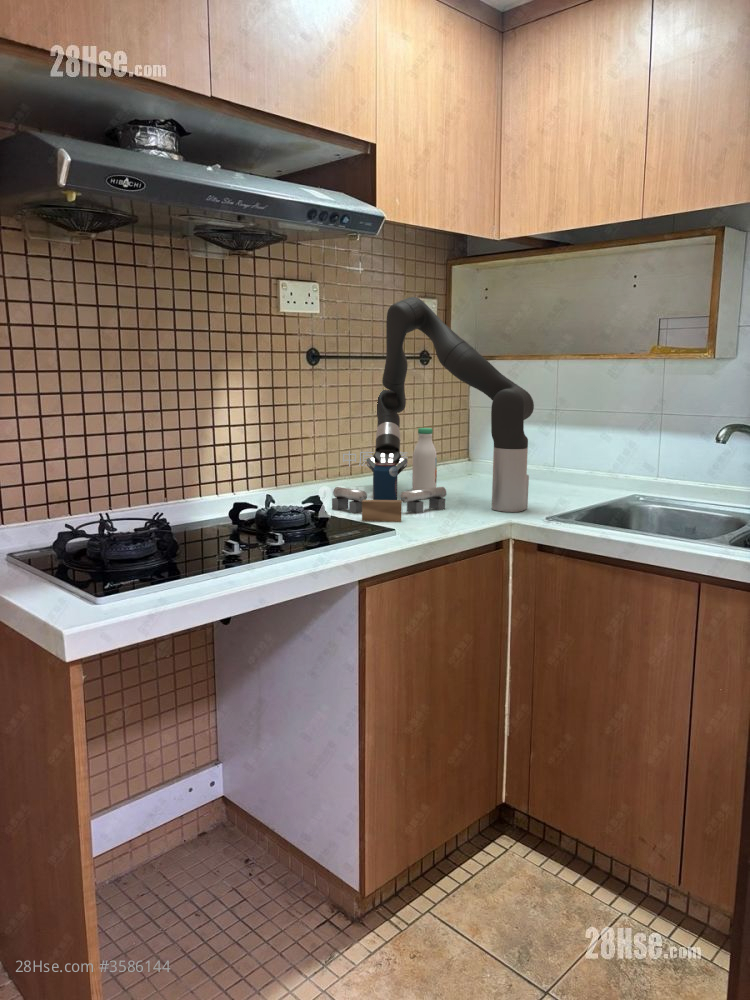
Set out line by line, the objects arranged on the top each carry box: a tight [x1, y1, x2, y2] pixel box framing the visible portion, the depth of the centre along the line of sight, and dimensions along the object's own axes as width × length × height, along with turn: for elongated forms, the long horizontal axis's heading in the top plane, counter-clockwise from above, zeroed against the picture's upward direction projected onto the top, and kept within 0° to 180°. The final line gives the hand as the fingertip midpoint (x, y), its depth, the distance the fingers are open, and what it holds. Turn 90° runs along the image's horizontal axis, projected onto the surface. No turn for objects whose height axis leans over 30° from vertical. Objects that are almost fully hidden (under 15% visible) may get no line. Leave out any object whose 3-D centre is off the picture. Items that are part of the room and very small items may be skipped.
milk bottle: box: [411, 427, 438, 490], centre depth 228 cm, size 8×8×20 cm
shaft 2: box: [399, 486, 447, 514], centre depth 196 cm, size 14×4×6 cm, turn 127°
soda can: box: [372, 462, 398, 500], centre depth 203 cm, size 7×7×12 cm
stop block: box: [361, 499, 403, 523], centre depth 183 cm, size 3×10×5 cm, turn 87°
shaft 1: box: [331, 486, 368, 514], centre depth 195 cm, size 10×4×6 cm, turn 47°
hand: (386, 485), depth 211 cm, fingers closed
